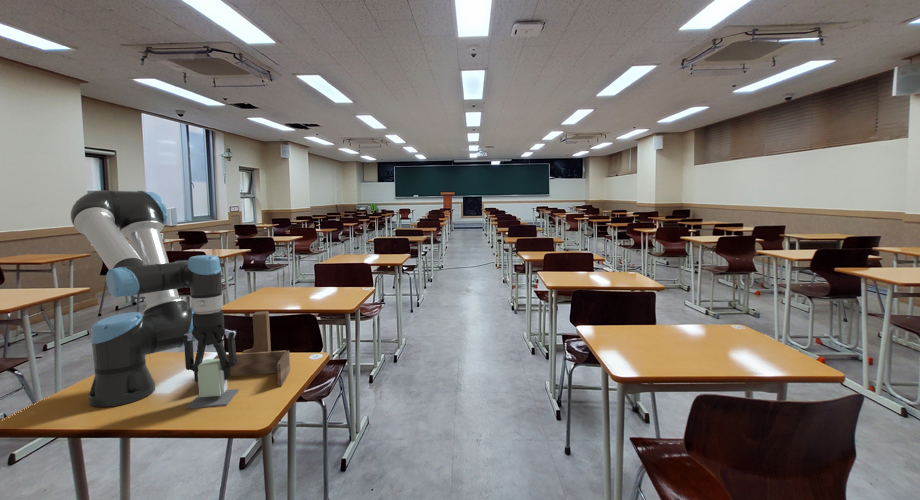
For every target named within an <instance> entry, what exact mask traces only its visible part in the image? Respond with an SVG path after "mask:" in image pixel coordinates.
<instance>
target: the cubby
mask: <svg viewBox="0 0 920 500" xmlns="http://www.w3.org/2000/svg"><path fill="white" fill-rule="evenodd" d="M226 354H227V353H226ZM227 357H228V360H229V355H228V354H227ZM212 359H219V357H218V354H216V355H215V357H213V358H212ZM236 359H237V363H236V364H235V365H234V366H233V367H230V377H238V376H250V375H252V376H253V375H254V376H255V375H263V374H265V375H266V374H267V375H268V374H276V375H277V387H280V388H281V387H282V386H283V385H284V383H285V381H286V379H287V377H288V376H289V374H290V372H291V360H290V350H273V351H272V350H271V352H256V353H242V352H241V353H236Z"/></svg>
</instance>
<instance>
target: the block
mask: <svg viewBox="0 0 920 500" xmlns="http://www.w3.org/2000/svg"><path fill="white" fill-rule="evenodd" d="M221 369H222V365H221V362H220V360H219V359H213V358H208V359H207V358H206V359H204V360H203V361H202V363H201V364H199V365H198V371H199V384H200V397H209V396H220V395H221V394H222V393H221V379H220V370H221Z"/></svg>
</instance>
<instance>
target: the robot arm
mask: <svg viewBox="0 0 920 500" xmlns="http://www.w3.org/2000/svg"><path fill="white" fill-rule="evenodd" d="M70 210H71V211H70V220H71V223H72V225H73V227H74V228H75V230H76V231H78V232H79V234H81V235H85V237H86V238H87V240H88V241H89V242H90V244H91V245H92V248H94V250H95V251H96V253H97V254H98V256H99V258H100V259H101V260H102V262H103V263H104V264H105V266H106V267H107V269H108V271H107V273H106V275H105V276H106V277H105V283H106V287H107V290H108V292H109V294H110V295H111V296H113V297H115V298H118V297H127V296H128V297H132V296H137V295H143V294H144V297H145V302H146V305H147V306H146V307H145V309H144V310H143V315H142V313H141V312H138V311H133V312H132V311H131V312H125V313H119V314H115V315H112V316H109V317H105V318H103V319H100V320H98V321H96V322H95V323H94V324H93V325H92V327H91V328H90V329H91V330H90V331H91V332H90V337H91V339H90V343H91V346H92V347H91V349H92V357H93V367H94V369H93V370H94V378H93V381H92V383H91V384H92V385H91V387H90V390H89V394H88V404H89V406H91V407H94V408H95V407H96V408H107V407H108V408H110V407H117V406H122V405H125V404H126V405H127V404H130V403H134V402H137V401H139V400H143V399H144V398H146V397H148V396H150V395H151V394H153V393H154V392H155V390H156V382H155V379H154V377H153V376H152V374H151V372H150V370H149V369H148V367H147V364H146V363H147V362H146V356H148V355H151V354H156V353H159V352H165V351H167V350H172V349H177V348H182V347H184V361H185V362H184V363H185V370H186V371H192V372H193V378H194V382H195V383H198V395H200V384H199V371H198V365H199V364H201V363H202V362H203V361H204V360H203V359H204V355H205V351H206V347H207V345H213V348H214V349H215V351H216V355H218V357H219V360H220V362H221V365H222V369H221V370H220V379H221V393H224V392H225V391H226V390H229V389H228V380H229V379H231V376H230V367H233V366H234V365H235V364H236V363H237V359H236V354H237V348H236V339H235V338H236V336H237V330H235V329H233V330H229V329H227V327H226V326H225V318H224V317H225V316H224V310H223V308H224V304H223V303H224V301H223V290H222V289H223V288H222V272H221V271H222V267H221V263H220V262H221V260H220V258H219V256H217V255H216V254H215V255H213V254H202V255H195V256H190V257H189V258H188V260H187V259H184V260H176V261H174V262H169V258H168V255H167V251H166V249H165V245H164V241H163V238H162V234H161V232H162V231H163V229H164V227H165V225H166V223H167V222H168V214H167V213H168V209H167V206H166V204H165V202H164V200H163V198H162V197H161V196H160V195H159V194H158V193H155V192H152V191H145V190H137V191H135V190H134V191H133V190H132V191H129V190H103V189H102V190H94V191H92V192H88V193H86V194H83V196H81V197H79V198H78V199H77V200H76V201H75V202H74V204H73V206H72V207H71V209H70ZM127 238H128V239H127ZM185 288H189V290H190V303H191V306H188V302H187V300H185V299H183V298H181V297H180V296H179V292H178V289H185ZM224 336H225V338H226V339H227V351H228V352H227V351H226V350H225V349H226V348H225V347H224V342H223V339H222V338H223V337H224ZM195 341H197V347H196V348H197V349H196V354H194V342H195ZM227 353H228V355H229V360H228V357H227ZM194 355H195V357H194Z"/></svg>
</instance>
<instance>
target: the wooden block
mask: <svg viewBox="0 0 920 500" xmlns="http://www.w3.org/2000/svg"><path fill="white" fill-rule="evenodd" d="M252 326H253V327H252V329H253V330H252V331H253V346H252V348H249V349H244V350H243V351H242V352H241V353H256V352H271V351H272V348H271V347H272V346H271V345H272V343H271V330H270V312H269V311H267V310H264V311H263V310H262V311H255V312H254V313H253V314H252Z"/></svg>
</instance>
